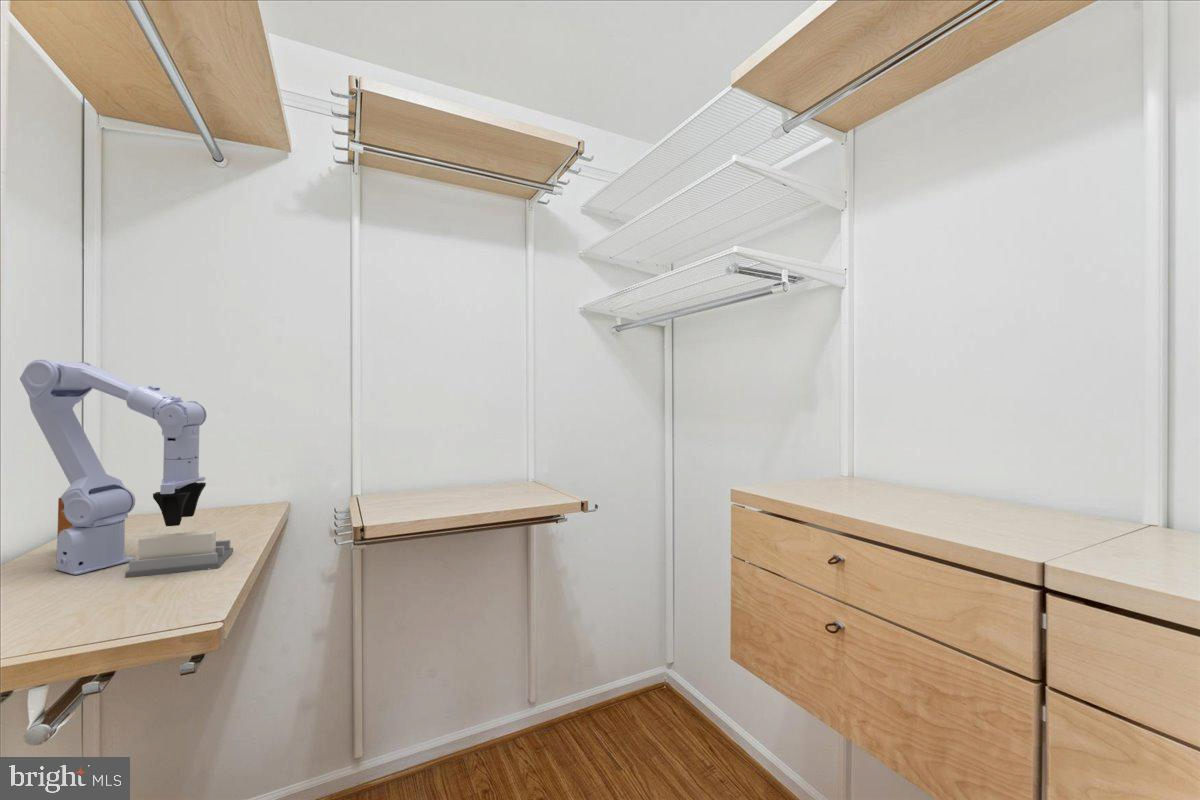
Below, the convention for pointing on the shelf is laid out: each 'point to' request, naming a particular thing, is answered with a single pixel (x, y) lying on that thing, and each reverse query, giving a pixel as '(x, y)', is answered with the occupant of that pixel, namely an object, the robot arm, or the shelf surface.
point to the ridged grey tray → (180, 562)
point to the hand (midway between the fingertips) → (180, 521)
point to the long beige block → (176, 544)
